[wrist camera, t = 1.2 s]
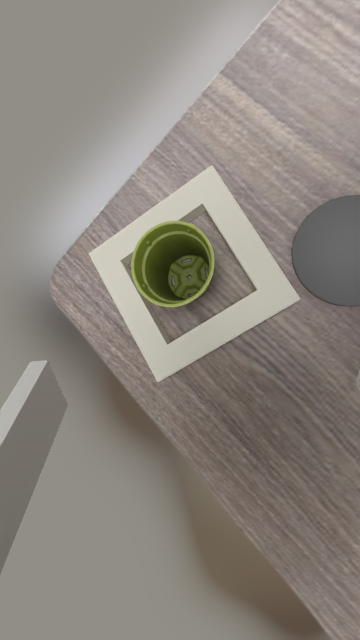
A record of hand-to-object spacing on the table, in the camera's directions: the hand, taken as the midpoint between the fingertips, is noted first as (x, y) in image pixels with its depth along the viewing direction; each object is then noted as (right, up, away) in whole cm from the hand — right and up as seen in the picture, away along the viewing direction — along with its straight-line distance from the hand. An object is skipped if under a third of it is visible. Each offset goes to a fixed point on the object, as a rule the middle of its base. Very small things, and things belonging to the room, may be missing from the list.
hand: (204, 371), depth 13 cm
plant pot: (0, +8, +29) cm, 30 cm away
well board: (0, +8, +29) cm, 30 cm away
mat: (+19, +10, +24) cm, 32 cm away
